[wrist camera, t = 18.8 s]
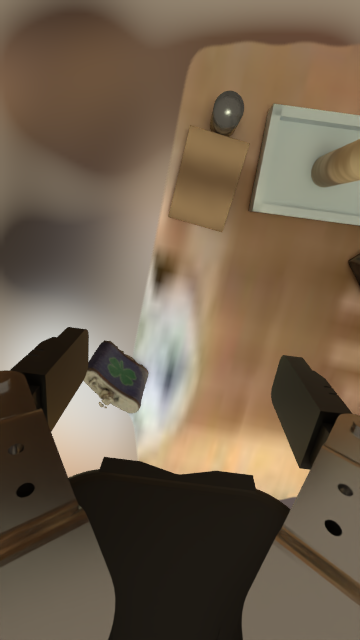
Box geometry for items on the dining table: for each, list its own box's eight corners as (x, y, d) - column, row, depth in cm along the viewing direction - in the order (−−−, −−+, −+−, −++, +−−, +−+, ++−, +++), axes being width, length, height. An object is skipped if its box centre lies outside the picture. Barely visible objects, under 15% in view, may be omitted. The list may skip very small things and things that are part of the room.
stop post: (232, 141, 35) (240, 128, 30) (208, 137, 35) (211, 124, 29) (237, 111, 34) (246, 92, 28) (212, 108, 34) (216, 88, 28)
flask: (151, 371, 47) (140, 416, 37) (140, 383, 48) (126, 429, 38) (106, 336, 45) (81, 373, 35) (95, 348, 46) (68, 388, 36)
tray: (369, 227, 38) (381, 228, 36) (248, 210, 38) (252, 211, 36) (403, 129, 34) (418, 123, 32) (268, 110, 34) (273, 103, 32)
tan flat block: (220, 230, 39) (222, 232, 36) (169, 216, 39) (168, 216, 36) (245, 148, 36) (249, 143, 33) (190, 131, 35) (190, 125, 32)
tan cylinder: (336, 189, 36) (382, 181, 27) (307, 184, 36) (344, 175, 27) (346, 156, 34) (397, 137, 26) (316, 151, 34) (358, 130, 26)
